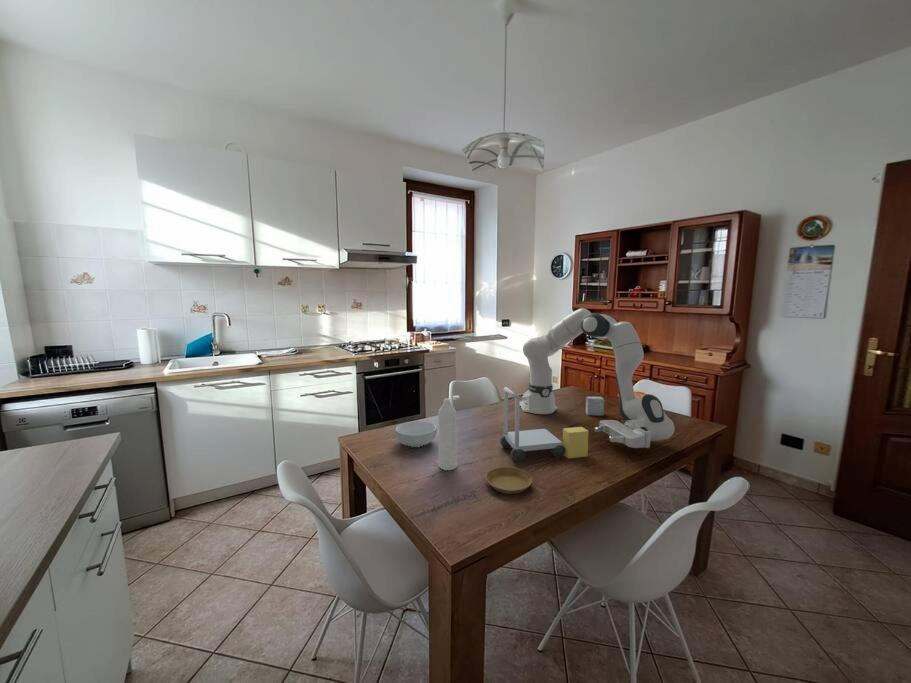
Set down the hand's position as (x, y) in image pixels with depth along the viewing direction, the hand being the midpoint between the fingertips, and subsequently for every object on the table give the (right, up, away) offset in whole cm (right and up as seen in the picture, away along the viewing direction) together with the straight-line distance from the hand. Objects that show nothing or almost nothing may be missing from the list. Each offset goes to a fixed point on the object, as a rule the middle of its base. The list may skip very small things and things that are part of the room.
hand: (602, 434), depth 139 cm
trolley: (-27, -7, +1) cm, 28 cm away
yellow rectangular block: (-11, -7, -1) cm, 14 cm away
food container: (+33, -1, +42) cm, 53 cm away
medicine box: (+14, -1, +44) cm, 47 cm away
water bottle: (-59, -9, -9) cm, 60 cm away
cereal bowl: (-73, -7, +10) cm, 74 cm away
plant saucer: (-40, -11, -22) cm, 47 cm away
